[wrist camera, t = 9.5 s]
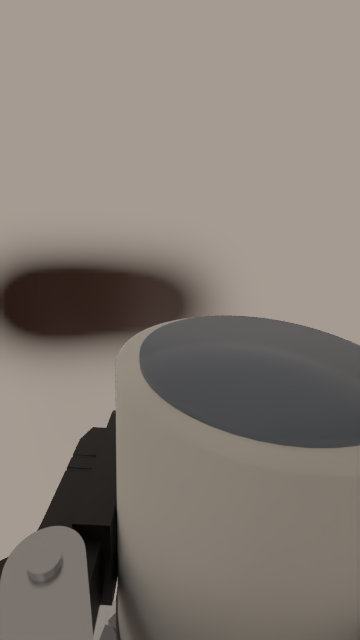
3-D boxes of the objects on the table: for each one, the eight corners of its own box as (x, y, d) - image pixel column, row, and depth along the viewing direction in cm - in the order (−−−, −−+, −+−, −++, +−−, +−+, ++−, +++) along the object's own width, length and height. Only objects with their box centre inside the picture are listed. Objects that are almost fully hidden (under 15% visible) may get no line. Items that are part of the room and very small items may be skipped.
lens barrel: (252, 560, 12) (301, 308, 9) (360, 801, 7) (563, 434, 4) (112, 595, 10) (106, 312, 7) (125, 924, 6) (127, 514, 2)
